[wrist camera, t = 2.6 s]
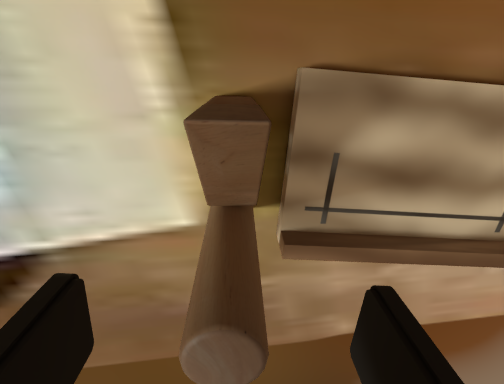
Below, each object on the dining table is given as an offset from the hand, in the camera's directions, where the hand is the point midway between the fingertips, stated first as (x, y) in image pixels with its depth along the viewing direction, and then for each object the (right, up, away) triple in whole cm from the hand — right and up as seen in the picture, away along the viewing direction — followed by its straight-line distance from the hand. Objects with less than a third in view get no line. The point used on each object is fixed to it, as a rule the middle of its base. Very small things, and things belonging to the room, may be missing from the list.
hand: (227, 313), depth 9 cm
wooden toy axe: (-1, +7, +17) cm, 19 cm away
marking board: (+18, +6, +18) cm, 26 cm away
